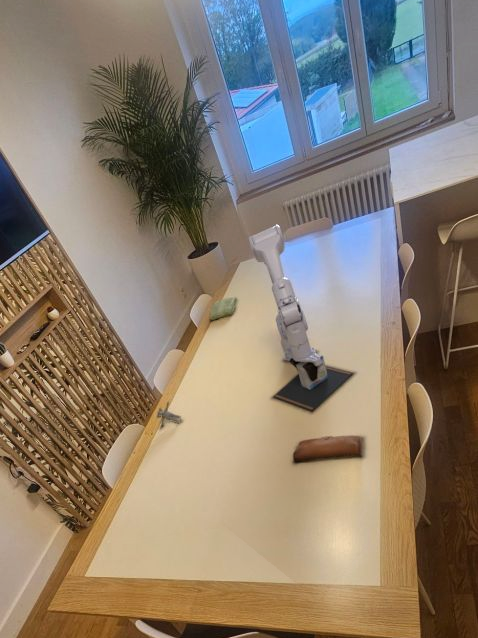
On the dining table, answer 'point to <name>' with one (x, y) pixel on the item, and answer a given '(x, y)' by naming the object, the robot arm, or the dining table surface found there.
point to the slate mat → (312, 390)
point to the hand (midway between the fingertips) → (309, 377)
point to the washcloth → (223, 308)
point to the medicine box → (305, 377)
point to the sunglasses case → (328, 448)
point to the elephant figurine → (167, 415)
